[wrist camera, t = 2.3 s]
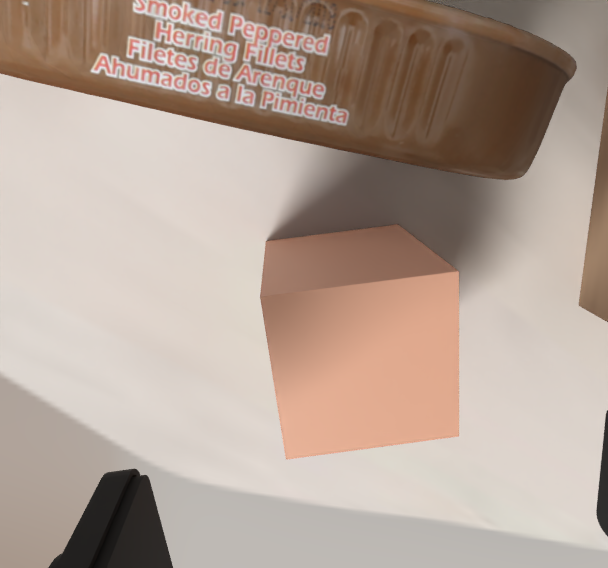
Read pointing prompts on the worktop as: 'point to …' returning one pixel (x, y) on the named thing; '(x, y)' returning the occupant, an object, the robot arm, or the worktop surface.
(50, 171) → the worktop surface
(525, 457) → the worktop surface
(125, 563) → the robot arm
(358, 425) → the salmon pink block
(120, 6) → the tin
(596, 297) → the walnut base
